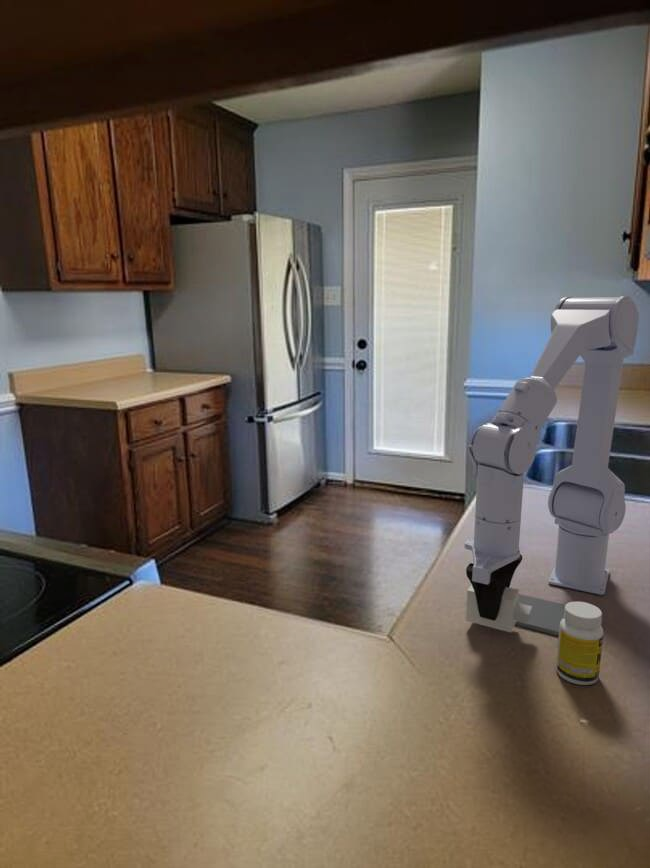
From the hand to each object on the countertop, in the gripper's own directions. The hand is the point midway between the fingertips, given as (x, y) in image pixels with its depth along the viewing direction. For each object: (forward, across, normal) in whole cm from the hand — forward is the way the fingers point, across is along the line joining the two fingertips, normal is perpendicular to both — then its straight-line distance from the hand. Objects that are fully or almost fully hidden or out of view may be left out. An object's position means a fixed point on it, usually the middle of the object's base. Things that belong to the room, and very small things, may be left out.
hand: (492, 610), depth 79 cm
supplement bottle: (+3, +5, +12) cm, 13 cm away
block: (+1, 0, 0) cm, 1 cm away
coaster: (+3, -6, +4) cm, 8 cm away
